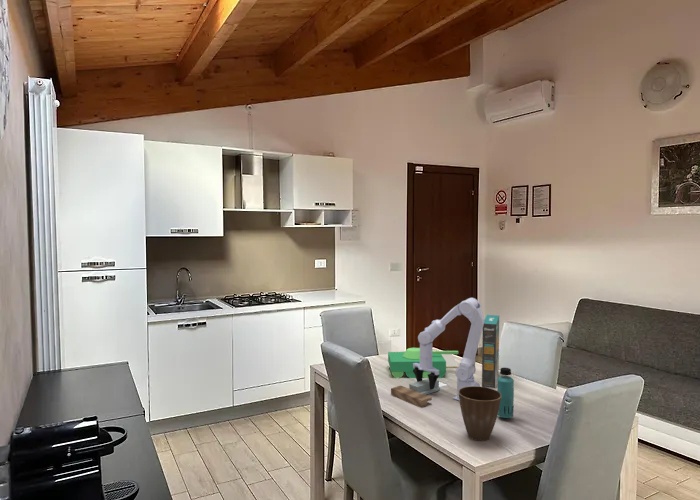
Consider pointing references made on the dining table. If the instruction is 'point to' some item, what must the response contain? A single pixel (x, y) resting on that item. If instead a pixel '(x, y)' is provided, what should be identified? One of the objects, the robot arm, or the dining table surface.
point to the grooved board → (411, 396)
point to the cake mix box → (490, 351)
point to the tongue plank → (424, 387)
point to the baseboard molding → (450, 360)
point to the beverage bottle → (506, 393)
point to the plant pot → (479, 410)
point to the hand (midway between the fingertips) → (425, 386)
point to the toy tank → (405, 361)
